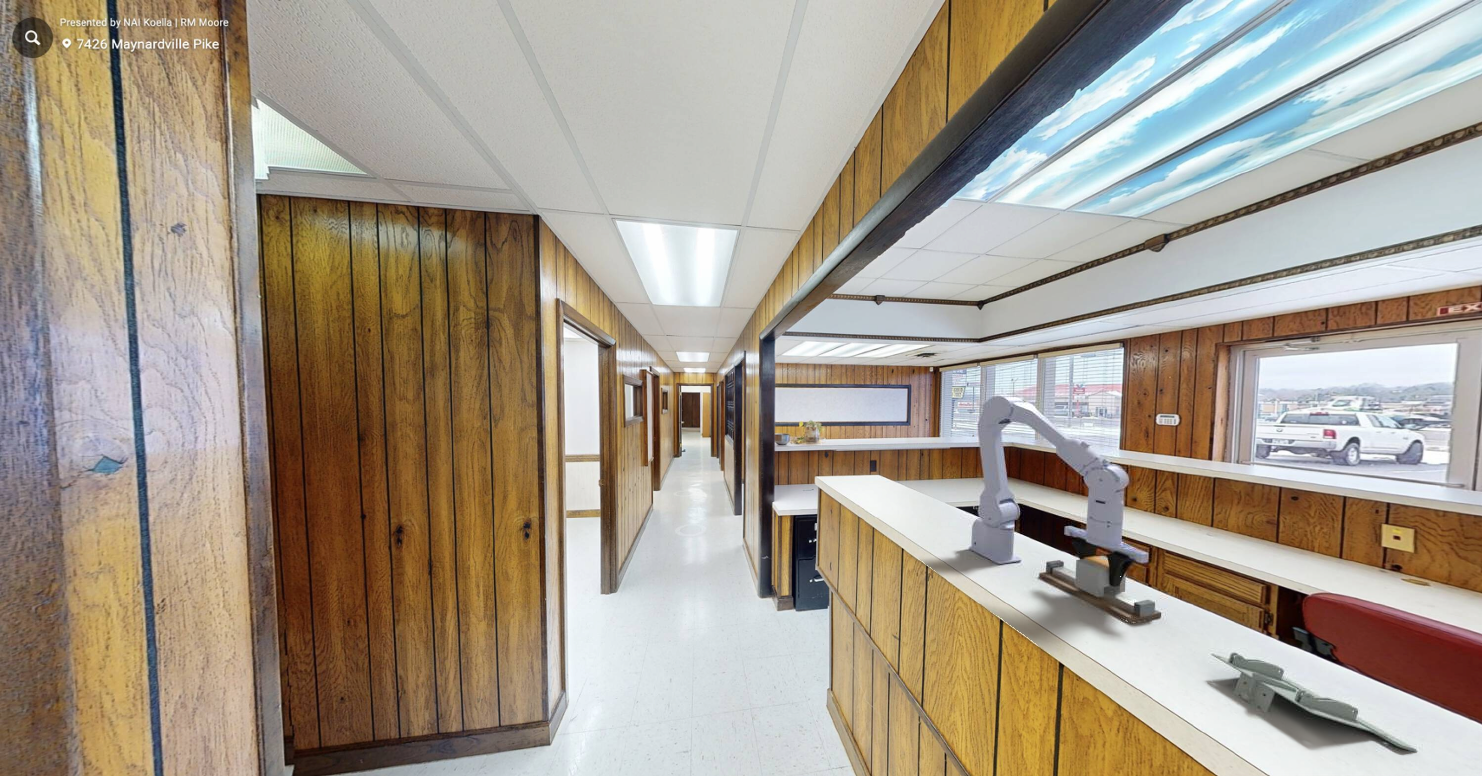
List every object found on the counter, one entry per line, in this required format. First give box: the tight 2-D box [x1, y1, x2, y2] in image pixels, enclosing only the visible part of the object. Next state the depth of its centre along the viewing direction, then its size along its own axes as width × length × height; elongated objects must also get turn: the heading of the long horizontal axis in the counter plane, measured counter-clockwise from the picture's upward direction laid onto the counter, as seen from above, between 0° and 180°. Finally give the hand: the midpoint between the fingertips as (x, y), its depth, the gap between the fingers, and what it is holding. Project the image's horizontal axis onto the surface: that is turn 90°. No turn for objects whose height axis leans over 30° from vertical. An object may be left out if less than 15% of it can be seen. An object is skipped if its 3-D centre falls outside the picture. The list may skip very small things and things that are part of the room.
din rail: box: [1045, 559, 1156, 617], centre depth 85 cm, size 18×4×2 cm, turn 15°
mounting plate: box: [1038, 571, 1162, 624], centre depth 86 cm, size 18×9×1 cm, turn 15°
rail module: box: [1075, 555, 1127, 597], centre depth 84 cm, size 4×8×6 cm, turn 105°
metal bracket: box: [1211, 652, 1418, 753], centre depth 58 cm, size 14×6×15 cm
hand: (1101, 579), depth 84 cm, fingers closed on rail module, 4 cm apart
